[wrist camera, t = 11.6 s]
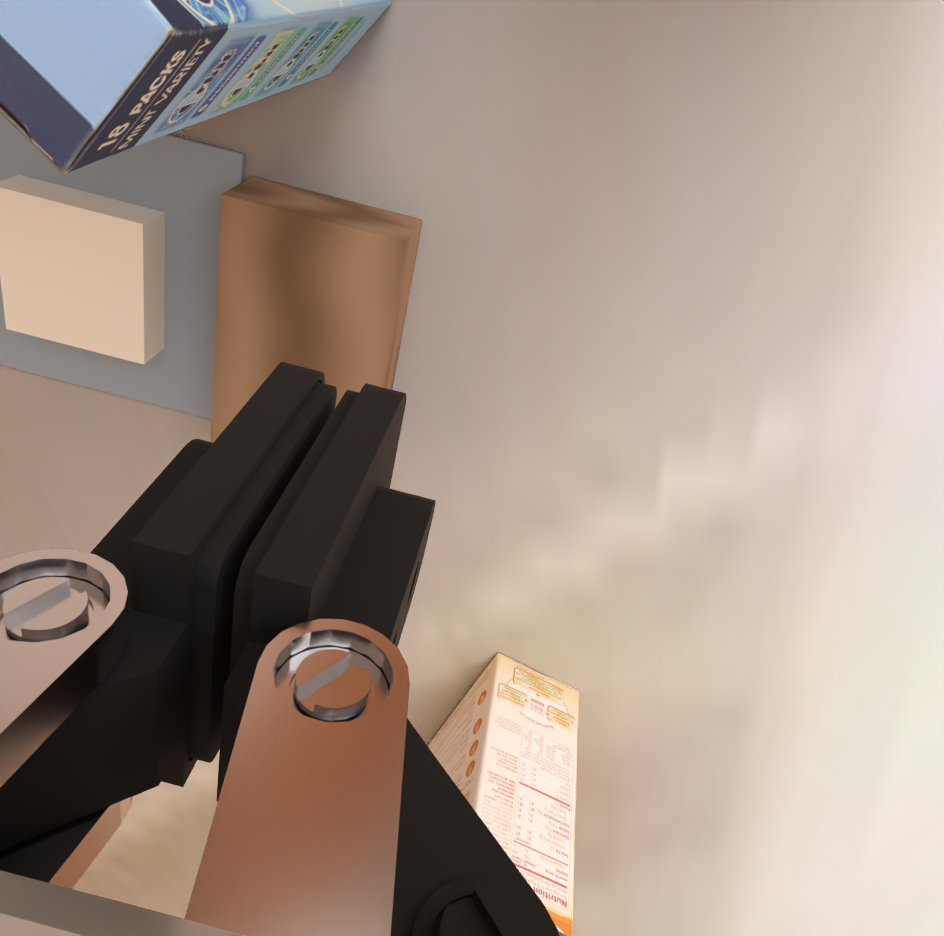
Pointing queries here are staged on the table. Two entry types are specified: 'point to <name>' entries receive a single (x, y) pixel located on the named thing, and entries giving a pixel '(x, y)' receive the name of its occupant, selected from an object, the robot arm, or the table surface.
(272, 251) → the board
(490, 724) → the coffeecake box
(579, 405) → the table surface
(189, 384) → the slate mat
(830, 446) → the table surface
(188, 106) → the gum box
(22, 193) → the cream coaster
